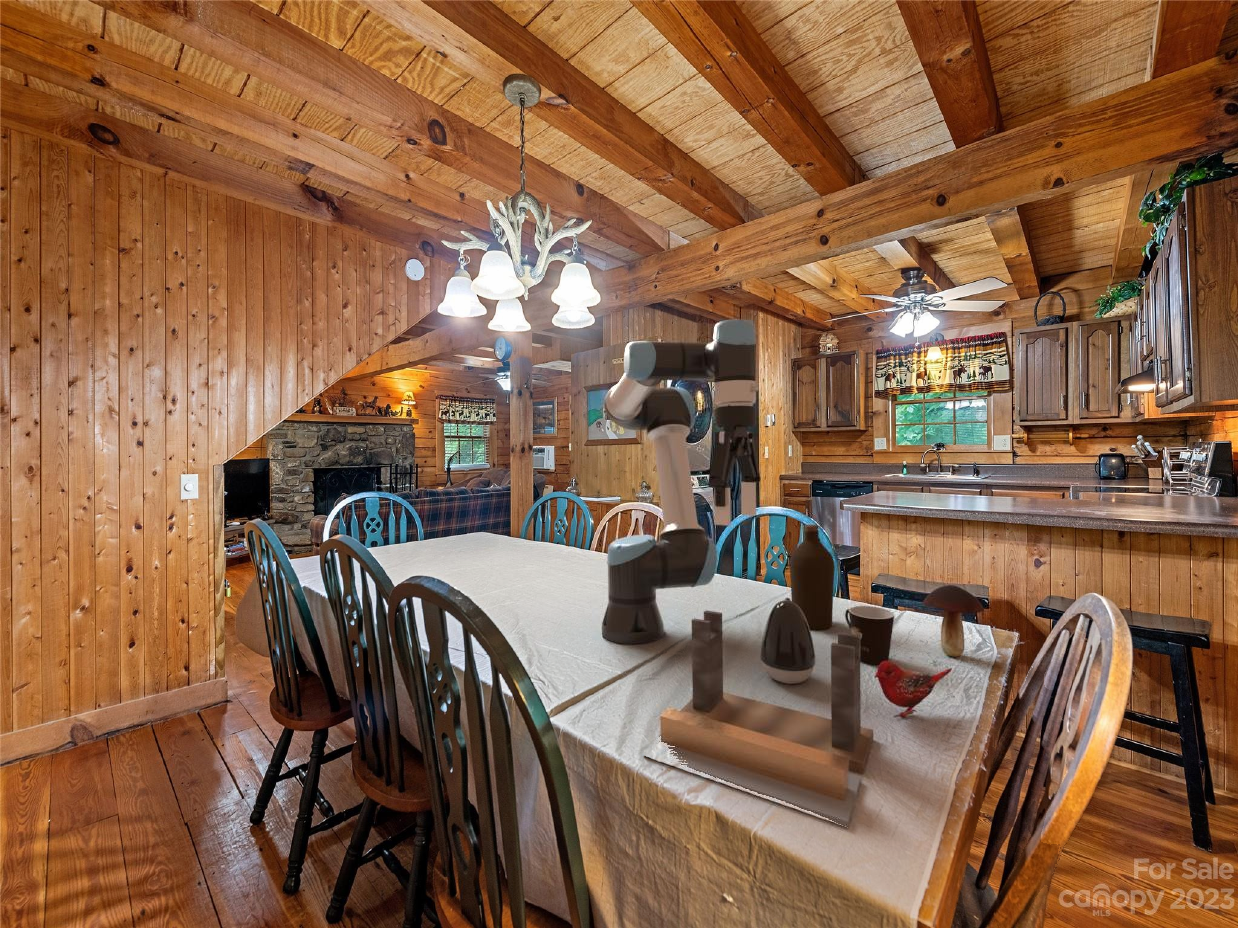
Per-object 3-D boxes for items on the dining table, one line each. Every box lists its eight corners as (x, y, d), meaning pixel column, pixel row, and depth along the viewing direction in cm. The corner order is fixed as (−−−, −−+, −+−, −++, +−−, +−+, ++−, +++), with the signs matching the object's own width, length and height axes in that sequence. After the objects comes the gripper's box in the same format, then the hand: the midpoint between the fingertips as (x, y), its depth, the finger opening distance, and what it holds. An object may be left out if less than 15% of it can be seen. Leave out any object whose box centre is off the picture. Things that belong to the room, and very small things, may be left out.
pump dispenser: (815, 669, 106) (814, 595, 105) (816, 693, 96) (815, 610, 96) (762, 664, 109) (761, 591, 109) (758, 685, 99) (757, 606, 99)
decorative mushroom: (912, 647, 116) (912, 580, 116) (958, 644, 117) (958, 578, 117) (946, 667, 106) (947, 593, 105) (998, 664, 106) (998, 591, 106)
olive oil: (805, 632, 126) (804, 529, 126) (782, 619, 137) (781, 523, 136) (844, 628, 129) (843, 527, 128) (818, 615, 139) (817, 521, 138)
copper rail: (660, 741, 80) (660, 715, 80) (669, 732, 82) (669, 707, 82) (844, 801, 66) (844, 770, 66) (848, 788, 68) (848, 757, 68)
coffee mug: (900, 669, 105) (900, 619, 105) (854, 666, 107) (853, 617, 107) (883, 647, 117) (883, 602, 117) (841, 644, 119) (841, 600, 118)
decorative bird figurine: (867, 720, 86) (867, 660, 86) (944, 699, 93) (944, 643, 92) (882, 728, 84) (882, 666, 83) (960, 707, 90) (960, 649, 90)
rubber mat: (643, 756, 78) (643, 751, 77) (674, 725, 86) (674, 720, 86) (847, 828, 62) (847, 821, 62) (861, 782, 71) (861, 776, 71)
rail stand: (679, 719, 88) (678, 621, 87) (704, 695, 96) (702, 605, 95) (863, 774, 72) (862, 655, 72) (873, 739, 81) (873, 633, 80)
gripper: (729, 400, 85) (731, 531, 86) (775, 407, 106) (776, 512, 107) (687, 403, 89) (689, 527, 90) (739, 409, 110) (740, 510, 111)
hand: (736, 520), depth 98 cm, fingers open, 13 cm apart
